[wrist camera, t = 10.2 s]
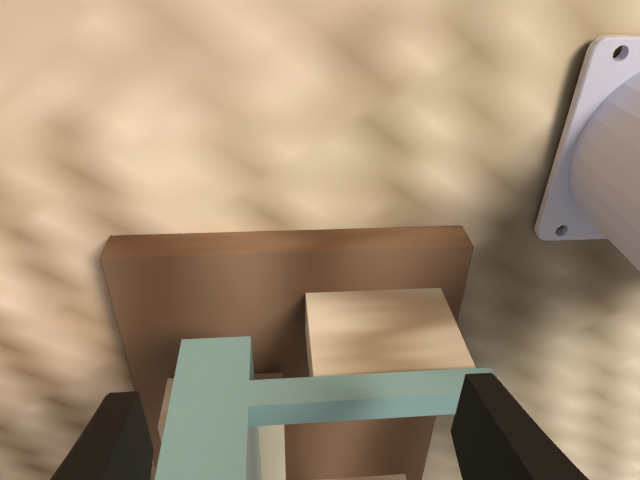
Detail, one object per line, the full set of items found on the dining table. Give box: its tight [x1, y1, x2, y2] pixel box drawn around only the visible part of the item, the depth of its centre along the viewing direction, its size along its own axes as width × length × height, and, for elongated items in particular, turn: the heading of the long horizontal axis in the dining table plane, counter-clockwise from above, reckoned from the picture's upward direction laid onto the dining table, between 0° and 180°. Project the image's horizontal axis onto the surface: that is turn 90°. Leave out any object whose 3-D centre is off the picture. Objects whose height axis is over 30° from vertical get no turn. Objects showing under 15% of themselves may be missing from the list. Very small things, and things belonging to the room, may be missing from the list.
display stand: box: [100, 226, 476, 480], centre depth 23 cm, size 14×19×6 cm
